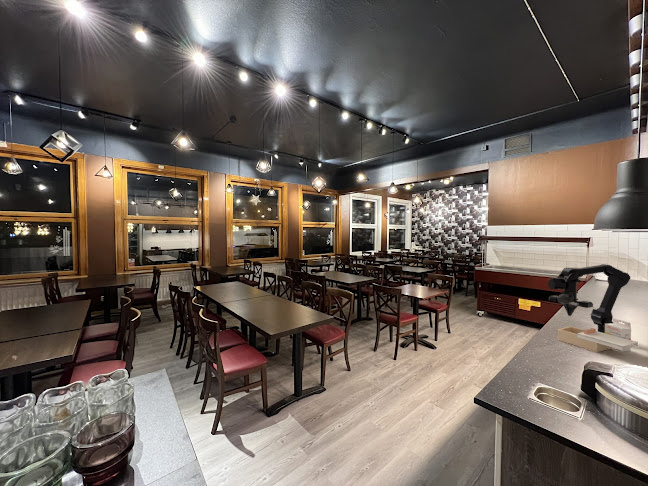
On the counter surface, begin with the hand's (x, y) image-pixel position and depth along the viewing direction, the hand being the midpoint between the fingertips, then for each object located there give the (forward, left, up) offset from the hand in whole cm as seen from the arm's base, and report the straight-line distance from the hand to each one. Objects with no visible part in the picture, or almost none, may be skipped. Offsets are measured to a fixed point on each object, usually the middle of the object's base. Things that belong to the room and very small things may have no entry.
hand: (569, 315), depth 156 cm
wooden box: (+7, +10, -12) cm, 17 cm away
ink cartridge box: (-3, +19, -12) cm, 23 cm away
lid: (+7, +19, -7) cm, 22 cm away
